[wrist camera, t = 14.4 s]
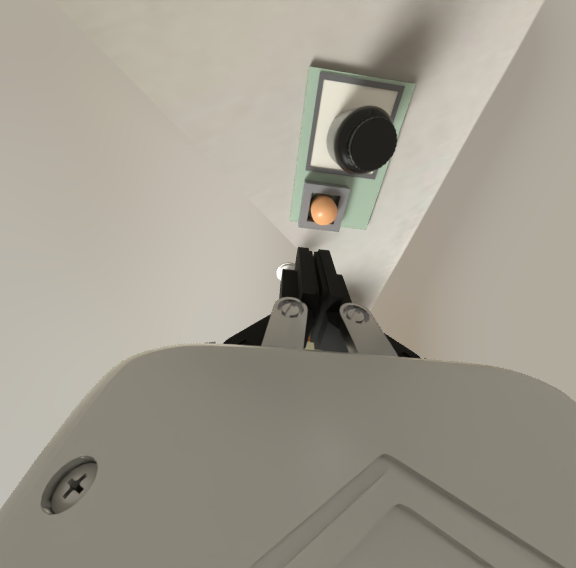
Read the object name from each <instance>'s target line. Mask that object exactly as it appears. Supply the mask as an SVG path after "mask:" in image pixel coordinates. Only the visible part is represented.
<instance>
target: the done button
mask: <svg viewBox="0 0 576 568" xmlns="http://www.w3.org/2000/svg"><path fill="white" fill-rule="evenodd" d="M310 210H311V214H312V218H313V220H314V221H315V222H316V223H317V224H319V225H328V224H330V223H332V222H333V221H334V220H335V218H336V217H337V213H338V209H337V206H336V204H335V202H334V201H333V199H332V197H331V196H330V195H327V194H319V193H318V194H316V195H315V196H314V197H313V198H312V199H311V202H310Z"/></svg>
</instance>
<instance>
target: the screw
mask: <svg viewBox="0 0 576 568" xmlns="http://www.w3.org/2000/svg"><path fill="white" fill-rule="evenodd" d="M282 269H289V270H294V269H295V264H293V263H284V264H281V265H280V266H279V267H278V269H277V277H278V279H279V280H280V281H281V276H282Z"/></svg>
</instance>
